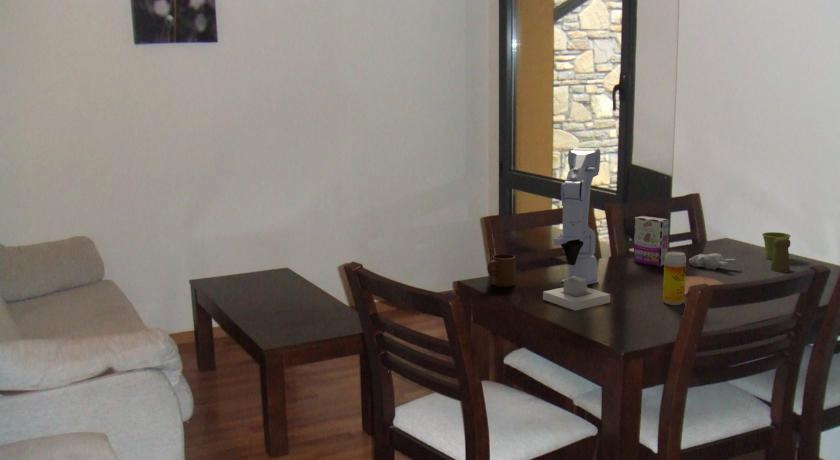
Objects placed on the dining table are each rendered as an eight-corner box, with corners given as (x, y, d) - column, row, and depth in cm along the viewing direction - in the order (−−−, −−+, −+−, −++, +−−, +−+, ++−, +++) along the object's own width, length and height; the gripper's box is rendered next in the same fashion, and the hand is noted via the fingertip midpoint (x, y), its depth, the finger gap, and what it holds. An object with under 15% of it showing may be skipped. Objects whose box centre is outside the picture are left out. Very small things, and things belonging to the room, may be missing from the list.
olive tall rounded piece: (770, 271, 279) (772, 239, 276) (770, 267, 284) (772, 235, 282) (790, 272, 276) (792, 240, 274) (789, 268, 282) (791, 236, 280)
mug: (497, 291, 260) (497, 262, 258) (479, 287, 265) (478, 259, 263) (520, 284, 268) (520, 255, 267) (501, 280, 273) (501, 252, 272)
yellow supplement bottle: (680, 306, 241) (683, 256, 238) (660, 303, 244) (662, 254, 241) (686, 301, 246) (688, 252, 243) (665, 298, 249) (668, 250, 246)
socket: (577, 292, 258) (577, 281, 257) (609, 302, 246) (610, 291, 246) (543, 299, 251) (543, 289, 250) (575, 310, 239) (575, 299, 238)
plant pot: (754, 257, 298) (756, 233, 297) (773, 254, 302) (775, 231, 300) (775, 262, 290) (777, 238, 288) (794, 259, 294) (796, 235, 292)
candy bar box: (668, 264, 290) (670, 218, 286) (660, 267, 286) (662, 221, 283) (640, 259, 298) (642, 215, 294) (632, 262, 294) (634, 216, 291)
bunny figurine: (698, 251, 292) (738, 252, 281) (699, 265, 293) (739, 267, 282) (684, 255, 286) (725, 257, 275) (685, 270, 286) (726, 272, 275)
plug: (571, 294, 252) (573, 275, 251) (586, 298, 249) (587, 279, 247) (562, 298, 249) (563, 279, 247) (577, 302, 245) (578, 283, 244)
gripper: (576, 215, 256) (575, 257, 259) (546, 222, 247) (545, 266, 250) (595, 218, 251) (594, 261, 254) (564, 225, 242) (564, 270, 245)
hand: (571, 264), depth 251 cm, fingers closed
